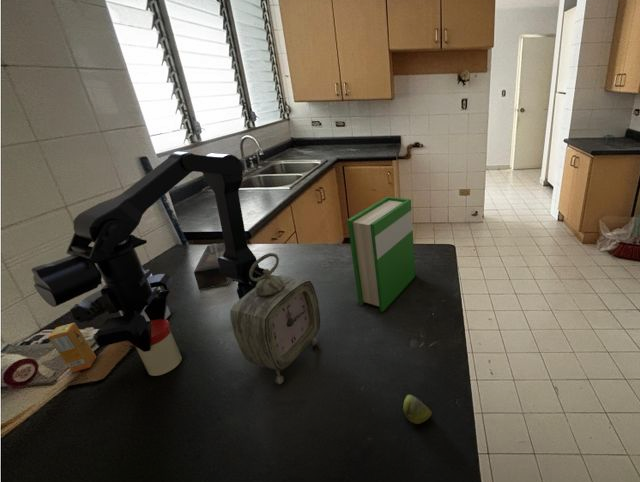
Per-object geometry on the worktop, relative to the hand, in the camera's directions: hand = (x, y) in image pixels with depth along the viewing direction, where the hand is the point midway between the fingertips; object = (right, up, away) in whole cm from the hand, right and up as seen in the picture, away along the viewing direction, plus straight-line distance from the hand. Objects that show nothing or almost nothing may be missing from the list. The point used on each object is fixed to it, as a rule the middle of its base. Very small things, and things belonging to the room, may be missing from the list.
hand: (153, 339), depth 68 cm
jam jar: (0, -6, +3) cm, 7 cm away
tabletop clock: (+27, -5, +2) cm, 27 cm away
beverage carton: (-9, +8, +37) cm, 39 cm away
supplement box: (-18, -7, +3) cm, 19 cm away
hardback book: (+46, +5, +24) cm, 52 cm away
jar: (-14, -1, +16) cm, 21 cm away
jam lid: (0, +2, -1) cm, 2 cm away
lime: (+54, -10, -11) cm, 56 cm away
